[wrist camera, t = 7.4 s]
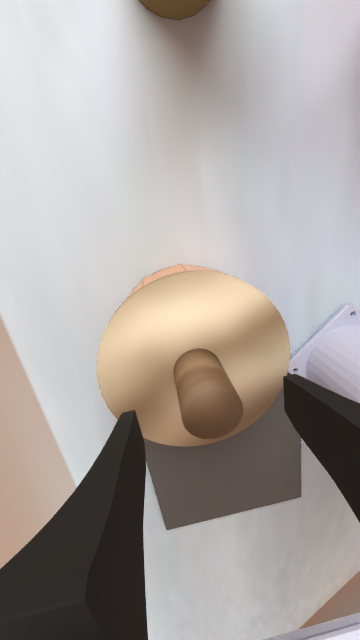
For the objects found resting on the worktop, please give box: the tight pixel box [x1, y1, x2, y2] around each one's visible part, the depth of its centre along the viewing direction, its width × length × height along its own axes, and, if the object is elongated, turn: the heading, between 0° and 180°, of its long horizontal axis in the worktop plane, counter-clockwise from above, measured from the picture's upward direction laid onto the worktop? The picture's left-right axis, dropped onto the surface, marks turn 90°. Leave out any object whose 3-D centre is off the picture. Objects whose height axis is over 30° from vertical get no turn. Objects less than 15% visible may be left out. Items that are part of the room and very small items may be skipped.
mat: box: [143, 373, 301, 530], centre depth 27 cm, size 16×17×1 cm
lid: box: [97, 270, 290, 447], centre depth 16 cm, size 13×13×5 cm
